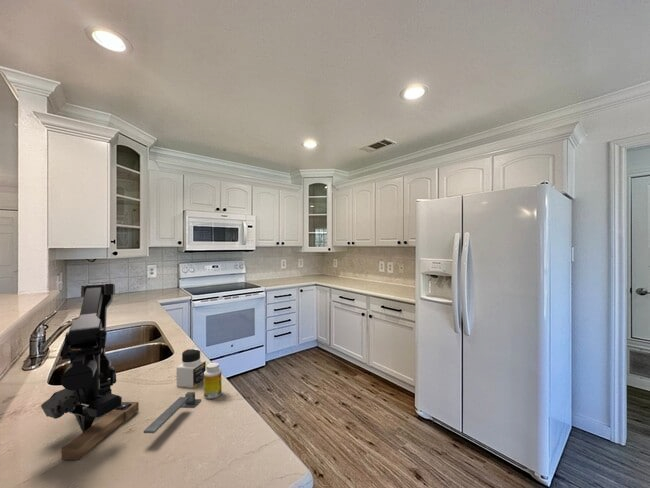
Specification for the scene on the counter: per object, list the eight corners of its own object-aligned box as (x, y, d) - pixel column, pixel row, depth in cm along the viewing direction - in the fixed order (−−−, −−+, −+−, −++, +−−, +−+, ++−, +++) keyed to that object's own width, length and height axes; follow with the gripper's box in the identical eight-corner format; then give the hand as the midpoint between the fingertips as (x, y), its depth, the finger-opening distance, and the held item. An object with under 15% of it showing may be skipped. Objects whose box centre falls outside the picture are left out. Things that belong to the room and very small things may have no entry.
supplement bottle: (221, 397, 93) (221, 366, 93) (203, 400, 91) (203, 369, 91) (221, 389, 98) (221, 360, 98) (204, 392, 96) (204, 362, 96)
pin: (116, 419, 82) (116, 407, 82) (123, 413, 84) (123, 402, 84) (124, 419, 82) (124, 407, 82) (131, 414, 84) (131, 402, 84)
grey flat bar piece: (139, 446, 71) (139, 430, 71) (186, 400, 92) (186, 388, 92) (158, 446, 70) (158, 431, 70) (201, 400, 91) (200, 388, 91)
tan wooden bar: (122, 410, 86) (121, 401, 86) (138, 410, 86) (138, 402, 86) (59, 459, 66) (59, 448, 66) (80, 459, 66) (80, 448, 66)
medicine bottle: (193, 388, 99) (193, 354, 99) (176, 386, 101) (175, 353, 101) (206, 378, 106) (205, 347, 106) (189, 377, 108) (189, 346, 108)
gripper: (23, 382, 69) (23, 445, 69) (74, 394, 63) (74, 463, 63) (75, 363, 80) (75, 418, 80) (123, 373, 74) (123, 432, 74)
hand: (85, 432), depth 74 cm, fingers closed
